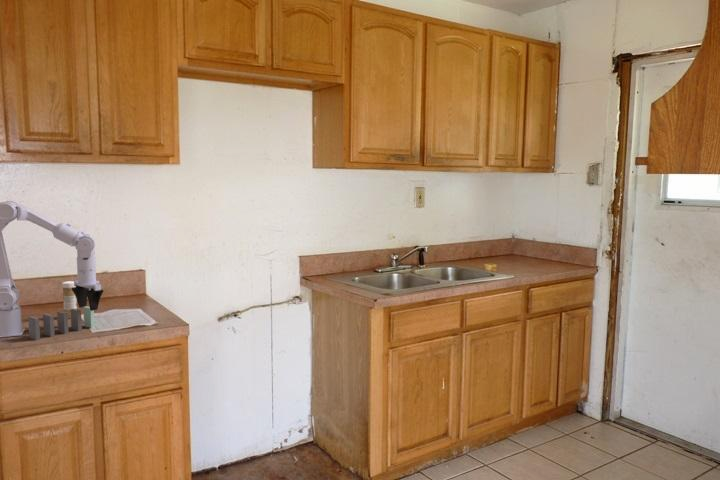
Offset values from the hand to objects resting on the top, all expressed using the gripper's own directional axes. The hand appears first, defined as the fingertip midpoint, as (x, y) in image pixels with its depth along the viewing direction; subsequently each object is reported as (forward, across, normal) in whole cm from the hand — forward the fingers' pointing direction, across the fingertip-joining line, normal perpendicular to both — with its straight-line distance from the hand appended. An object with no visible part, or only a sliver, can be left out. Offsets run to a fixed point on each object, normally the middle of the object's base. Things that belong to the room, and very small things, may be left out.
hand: (88, 308), depth 194 cm
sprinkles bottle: (+7, +19, -3) cm, 20 cm away
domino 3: (+7, 0, +9) cm, 11 cm away
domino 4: (+7, 0, +4) cm, 8 cm away
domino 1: (+7, 0, +18) cm, 19 cm away
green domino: (+7, 0, 0) cm, 7 cm away
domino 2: (+7, 0, +13) cm, 15 cm away
